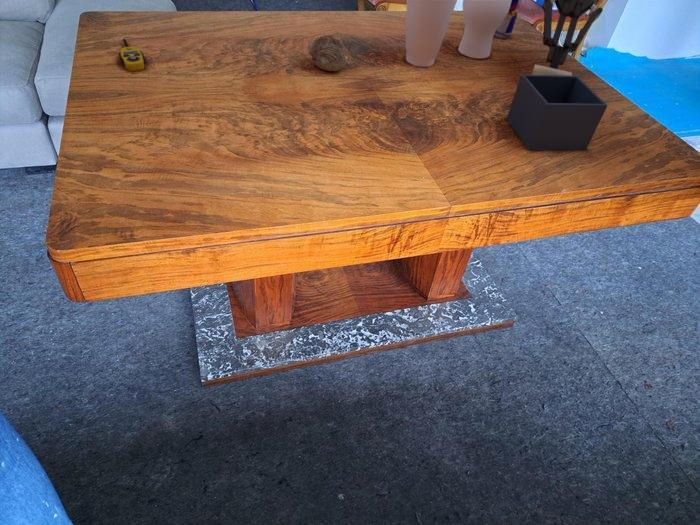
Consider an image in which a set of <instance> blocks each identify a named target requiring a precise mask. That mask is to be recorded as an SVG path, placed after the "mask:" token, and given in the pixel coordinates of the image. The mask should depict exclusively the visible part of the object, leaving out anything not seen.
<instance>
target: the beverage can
mask: <svg viewBox="0 0 700 525" xmlns="http://www.w3.org/2000/svg"><path fill="white" fill-rule="evenodd" d="M521 4H522V0H512V2H511V5H510V9H509V12H508V14H507V15H506V17H505V19H504V20H503V22H502V23H501V24H500V25H499V27H498V28H497V29H496V31H495V33H494V36H495V37H496V38H499V39H508V38H509V37H511V35H512V33H513V29H514V27H515V22H516V20H517V17H518V13H519V10H520V6H521Z"/></svg>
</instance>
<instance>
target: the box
mask: <svg viewBox="0 0 700 525" xmlns="http://www.w3.org/2000/svg"><path fill="white" fill-rule="evenodd" d="M607 108H608V104H607V103H606V102H605V101H604V100H603V99H602V98H601V97H600V96H599V95H598V94H597V93H596V92H595V91H594V90H593V89H592V88H591V87H590V86H588V85H587V83H585V81H584V80H582V78H580V76H578V75H572V76H563V75H531V74H520V77H519V80H518V82H517V86H516V88H515V92H514V95H513V98H512V101H511V104H510V107H509V110H508V112H507V116H506V120H507V122H508V123H509V125H510V126H511V127H512V128H513V130H514V131H515V133H516V134H517V136H518V137H519V139H520V140H521V141H522V143H523V144H524V145H525V148H527V150H528V151H587V149H588V147H589V145H590V143H591V141H592V139H593V137H594V134H596V133H595V132H596V130H597V128H598V127H599V124H600V122H601V120H602V118H603V116H604V114H605V111H606V109H607Z"/></svg>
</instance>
